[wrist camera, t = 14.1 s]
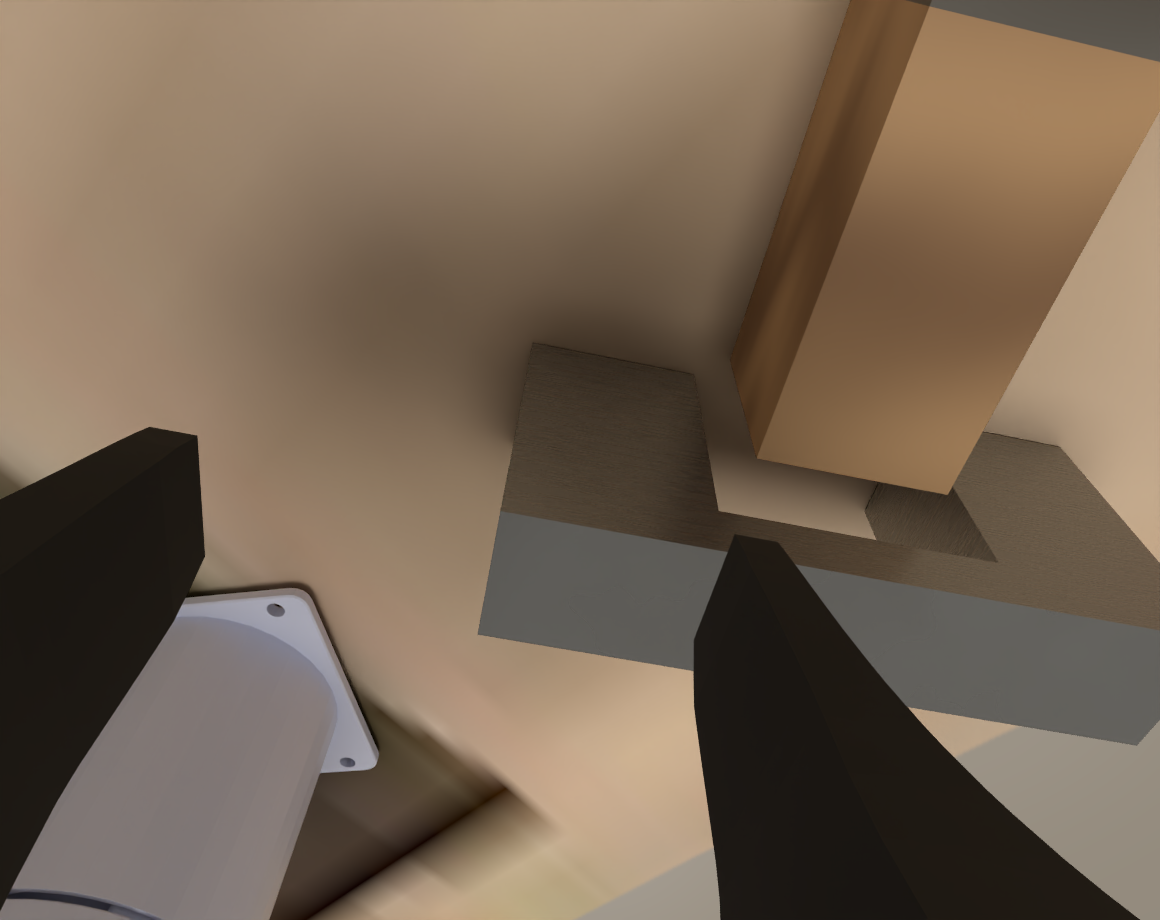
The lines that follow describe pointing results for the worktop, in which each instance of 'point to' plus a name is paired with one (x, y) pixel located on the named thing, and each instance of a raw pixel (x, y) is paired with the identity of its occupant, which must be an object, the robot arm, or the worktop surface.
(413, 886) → the worktop surface
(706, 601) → the u-shaped slotted block
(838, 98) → the bar
